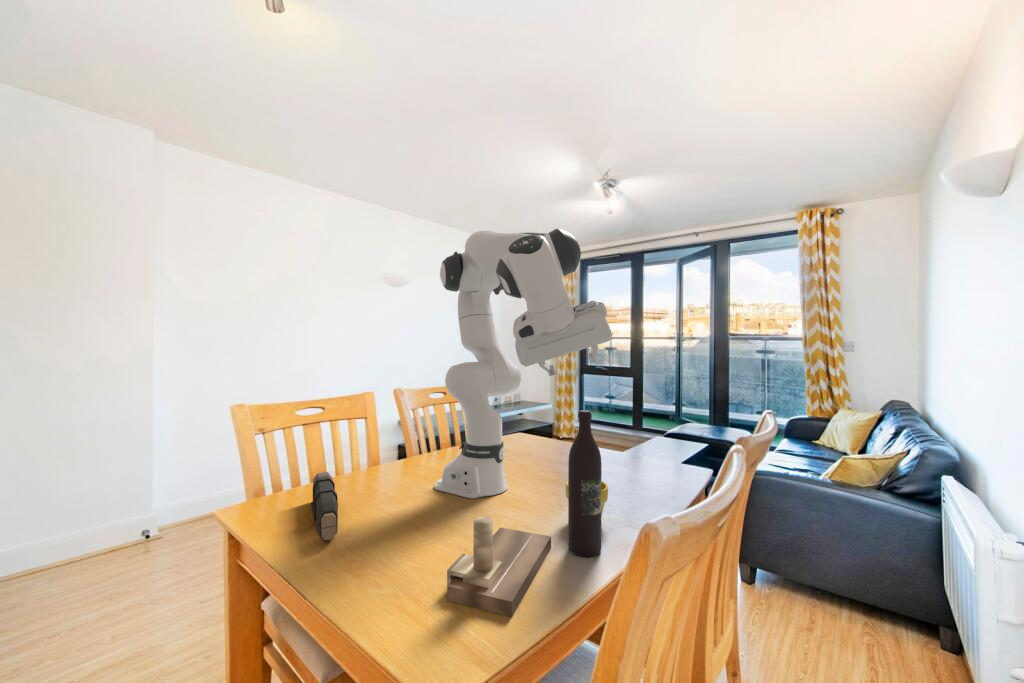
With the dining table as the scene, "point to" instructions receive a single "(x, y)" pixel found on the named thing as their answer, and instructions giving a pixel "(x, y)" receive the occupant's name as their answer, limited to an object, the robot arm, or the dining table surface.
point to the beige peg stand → (478, 558)
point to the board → (505, 573)
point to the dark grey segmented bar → (325, 505)
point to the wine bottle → (584, 491)
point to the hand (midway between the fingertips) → (573, 367)
